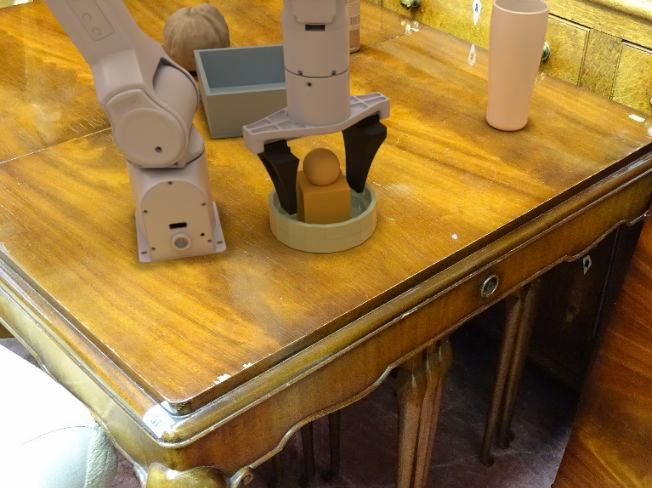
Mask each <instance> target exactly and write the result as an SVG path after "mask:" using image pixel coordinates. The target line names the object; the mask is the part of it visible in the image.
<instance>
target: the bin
mask: <svg viewBox="0 0 652 488" xmlns="http://www.w3.org/2000/svg"><path fill="white" fill-rule="evenodd" d="M194 56H195V63H196V70H197V73H196V75H197V76H196V77H197V82H198V83H197V84H198V89H199V94H200V97H201V98H200V99H201V102H202V105H203V109H204V112H205V116H206V121H207V124H208V128H209V131H210V135H211V136H210V137H211V139H212V140H218V139H226V138H227V139H228V138H237V137H243V130H242V126H245V125H249V124H252V123H254V122H257V121H259V120H261V119H263V118H265V117H267V116H269V115H271V114H273V113H275V112H277V111H279V110H281V109H283V108H285V107H287V96H286V82H285V67H284V53H283V43H277V44H276V43H275V44H262V45H247V46H235V47H230V48H218V49H204V50H194Z"/></svg>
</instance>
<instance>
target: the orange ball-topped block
mask: <svg viewBox="0 0 652 488" xmlns="http://www.w3.org/2000/svg"><path fill="white" fill-rule="evenodd" d="M296 193H297V215H298V218H299V221H300V222H303V223H307V224H322V225H326V224H334V223H341V222H345V221H347V220H350V219H351V191H350V187H349V185H348V183H347V181H346V179H345V177H344V175H343V171H342V169H341V164H340V160H339V158H338V156H337V155H336V153H334V152H333V151H332V150H331V149H328V148H325V147H317V148H314V149H311V150H310V151H309V152H308V153H306V155H305V156H304V158H303V161H302V170H298V171H297V179H296Z"/></svg>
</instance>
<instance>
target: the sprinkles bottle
mask: <svg viewBox="0 0 652 488" xmlns="http://www.w3.org/2000/svg"><path fill="white" fill-rule="evenodd" d="M345 7H346V9H347V10H348V13H349V53H350V54H351V53H356V52H357V51H359V50H360V49H361V47H362V46H361V39H360V38H361V36H360V33H361V32H360V31H361V29H360V28H361V0H347V5H345Z"/></svg>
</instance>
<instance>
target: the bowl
mask: <svg viewBox="0 0 652 488" xmlns="http://www.w3.org/2000/svg"><path fill="white" fill-rule="evenodd" d="M342 173H343V172H342ZM343 175H344V177H345V179H346V173H343ZM346 181H347V180H346ZM350 191H351V219H350V220H347V221H345V222H341V223H334V224H326V225H322V224H307V223H303V222H300V221H299V218H298V215H297V213H296V214H293V215H289V214H288V213H287V212H286V211H285V210H284V209H283V208H282V207H281V205H280V202H279V198H278V195H277V192H276V190H275V187H274V186H273V188H272V189H271V191H270V192H269V193H268V196H267V199H268V205H267V206H268V215H269V223H270V224H269V225H270V231H271V233H272V234H273V236H274V237H275V238H276V240H277V241H278V242H281V244H283V245H285V246H287V247H288V248H290V249H294V250H298V251H301V252H304V253H315V254H316V253H317V254H332V253H339V252H345V251H347V250H351V249H353V248H355V247H357V246H360V245H362V244H364V242H366V241H367V240H369V238H371V237H372V236H373V235H374V232H375V230H376V227H377V224H378V223H377V220H378V219H377V212H378V211H377V210H378V200H377V195H376V191H375V190H374V188H372V187H371V185H370V184H369V183H368V182H367V181H366V183H365V187H364V190H363V192H361V193H357V192H356V191H354V190H353V189H352V188H351V187H350Z"/></svg>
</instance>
